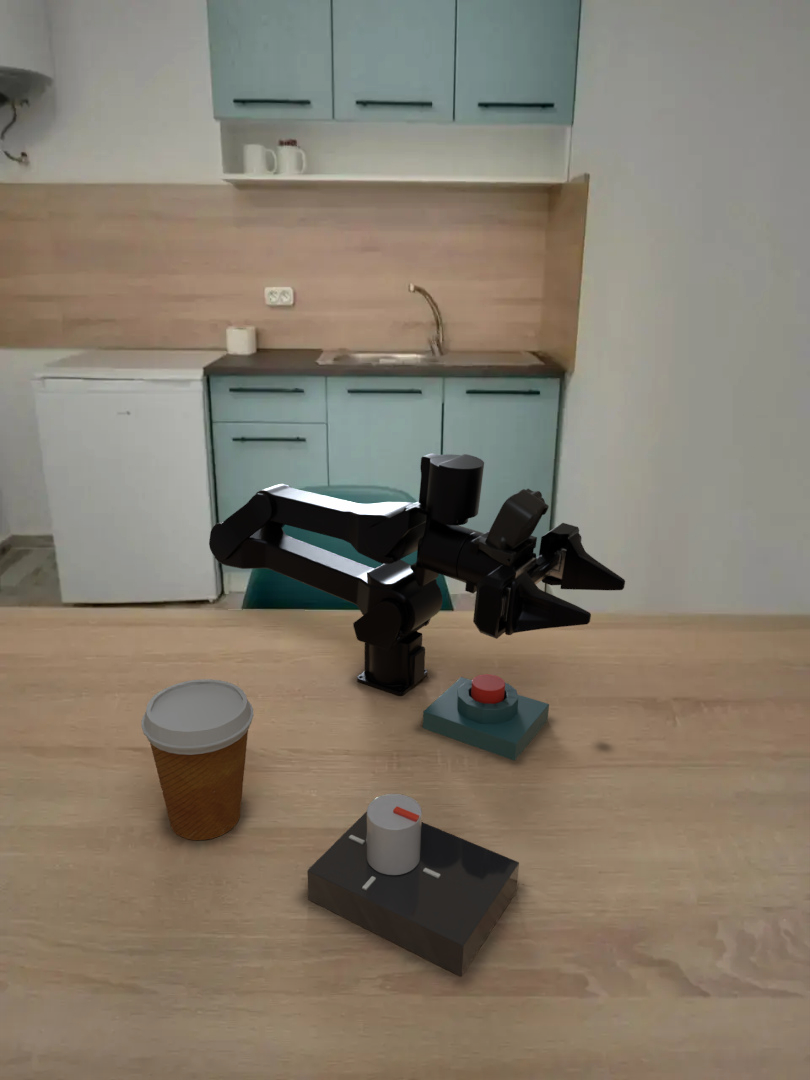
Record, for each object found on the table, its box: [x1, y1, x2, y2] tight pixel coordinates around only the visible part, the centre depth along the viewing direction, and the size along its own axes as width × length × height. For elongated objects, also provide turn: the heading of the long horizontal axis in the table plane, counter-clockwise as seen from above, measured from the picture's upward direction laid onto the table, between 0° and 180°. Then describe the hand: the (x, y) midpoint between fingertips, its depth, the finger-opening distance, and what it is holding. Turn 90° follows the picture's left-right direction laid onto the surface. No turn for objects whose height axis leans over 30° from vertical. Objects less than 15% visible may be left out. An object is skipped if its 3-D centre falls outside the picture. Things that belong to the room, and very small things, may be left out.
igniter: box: [422, 676, 550, 762], centre depth 91 cm, size 11×9×4 cm
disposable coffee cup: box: [140, 678, 254, 841], centre depth 74 cm, size 10×10×12 cm
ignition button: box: [471, 673, 506, 704], centre depth 90 cm, size 4×4×2 cm
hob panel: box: [306, 810, 520, 977], centre depth 67 cm, size 14×10×3 cm
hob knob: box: [366, 793, 423, 875], centre depth 67 cm, size 4×4×5 cm
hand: (607, 601), depth 82 cm, fingers open, 9 cm apart
